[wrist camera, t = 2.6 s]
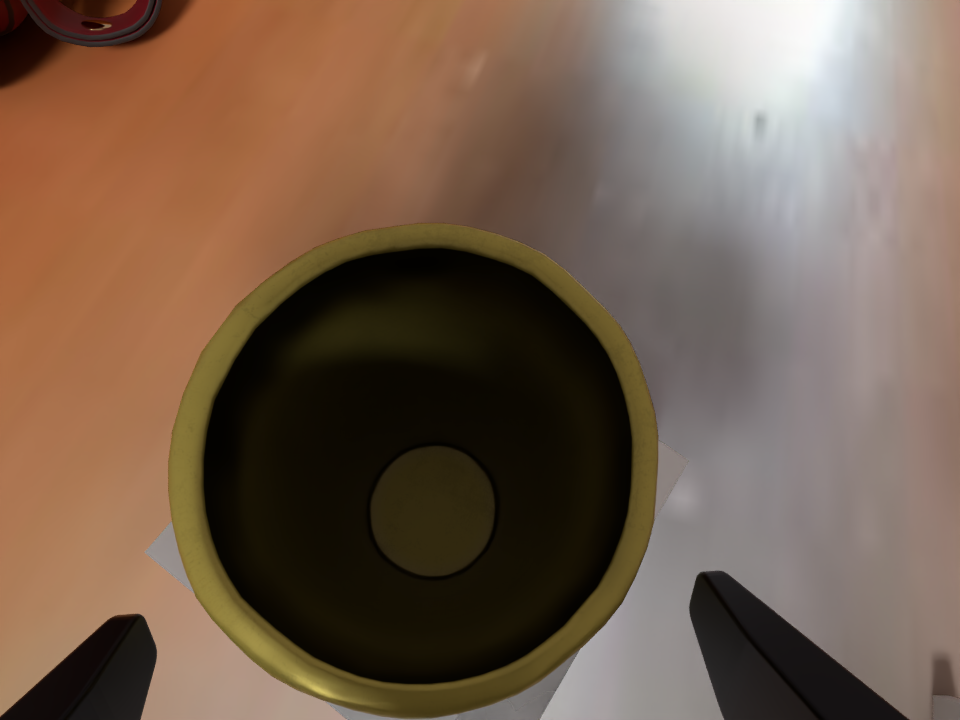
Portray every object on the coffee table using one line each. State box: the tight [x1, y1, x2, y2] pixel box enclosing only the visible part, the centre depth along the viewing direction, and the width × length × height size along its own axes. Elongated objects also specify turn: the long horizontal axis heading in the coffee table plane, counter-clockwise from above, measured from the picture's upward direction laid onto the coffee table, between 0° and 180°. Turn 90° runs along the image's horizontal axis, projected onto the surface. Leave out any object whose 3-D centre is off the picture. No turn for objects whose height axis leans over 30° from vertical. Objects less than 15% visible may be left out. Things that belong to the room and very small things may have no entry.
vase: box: [168, 223, 658, 719], centre depth 13 cm, size 6×6×14 cm
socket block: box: [145, 440, 689, 720], centre depth 18 cm, size 11×11×4 cm
